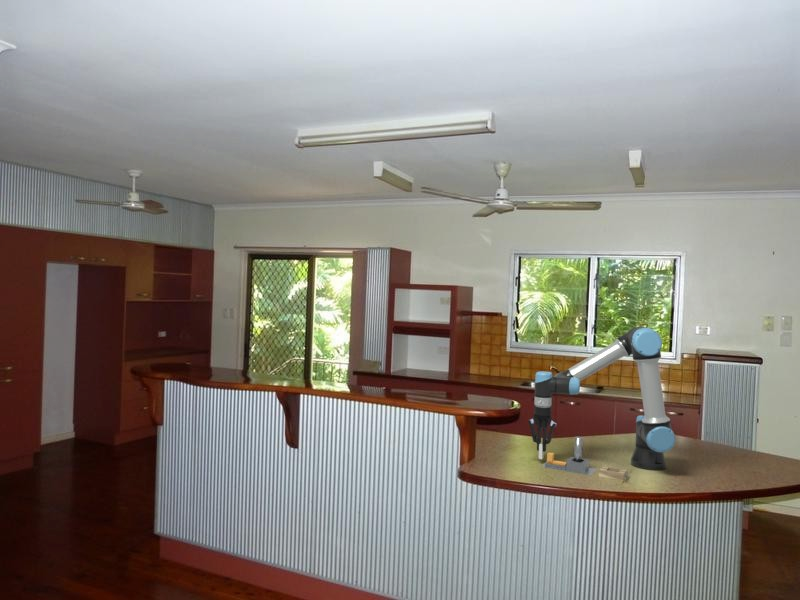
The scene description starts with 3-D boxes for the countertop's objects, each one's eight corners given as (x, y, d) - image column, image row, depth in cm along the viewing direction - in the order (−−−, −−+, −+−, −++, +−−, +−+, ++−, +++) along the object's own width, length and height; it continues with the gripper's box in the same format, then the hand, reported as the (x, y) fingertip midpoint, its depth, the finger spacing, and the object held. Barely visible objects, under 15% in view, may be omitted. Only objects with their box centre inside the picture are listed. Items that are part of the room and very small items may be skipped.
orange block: (548, 463, 277) (549, 452, 277) (567, 466, 273) (567, 455, 273) (546, 464, 275) (547, 453, 274) (565, 468, 270) (565, 456, 270)
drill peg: (574, 467, 272) (575, 436, 271) (582, 469, 270) (583, 437, 270) (573, 469, 269) (574, 437, 269) (580, 470, 267) (581, 438, 267)
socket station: (547, 463, 282) (547, 452, 282) (596, 471, 271) (597, 459, 271) (539, 469, 271) (540, 457, 271) (590, 478, 261) (591, 466, 261)
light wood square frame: (603, 473, 269) (603, 465, 269) (627, 477, 264) (627, 469, 264) (598, 478, 260) (598, 470, 260) (623, 483, 255) (623, 474, 255)
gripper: (526, 405, 277) (524, 457, 277) (554, 409, 271) (553, 462, 271) (531, 403, 284) (529, 454, 284) (559, 406, 277) (557, 458, 277)
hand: (541, 458), depth 277 cm, fingers closed
